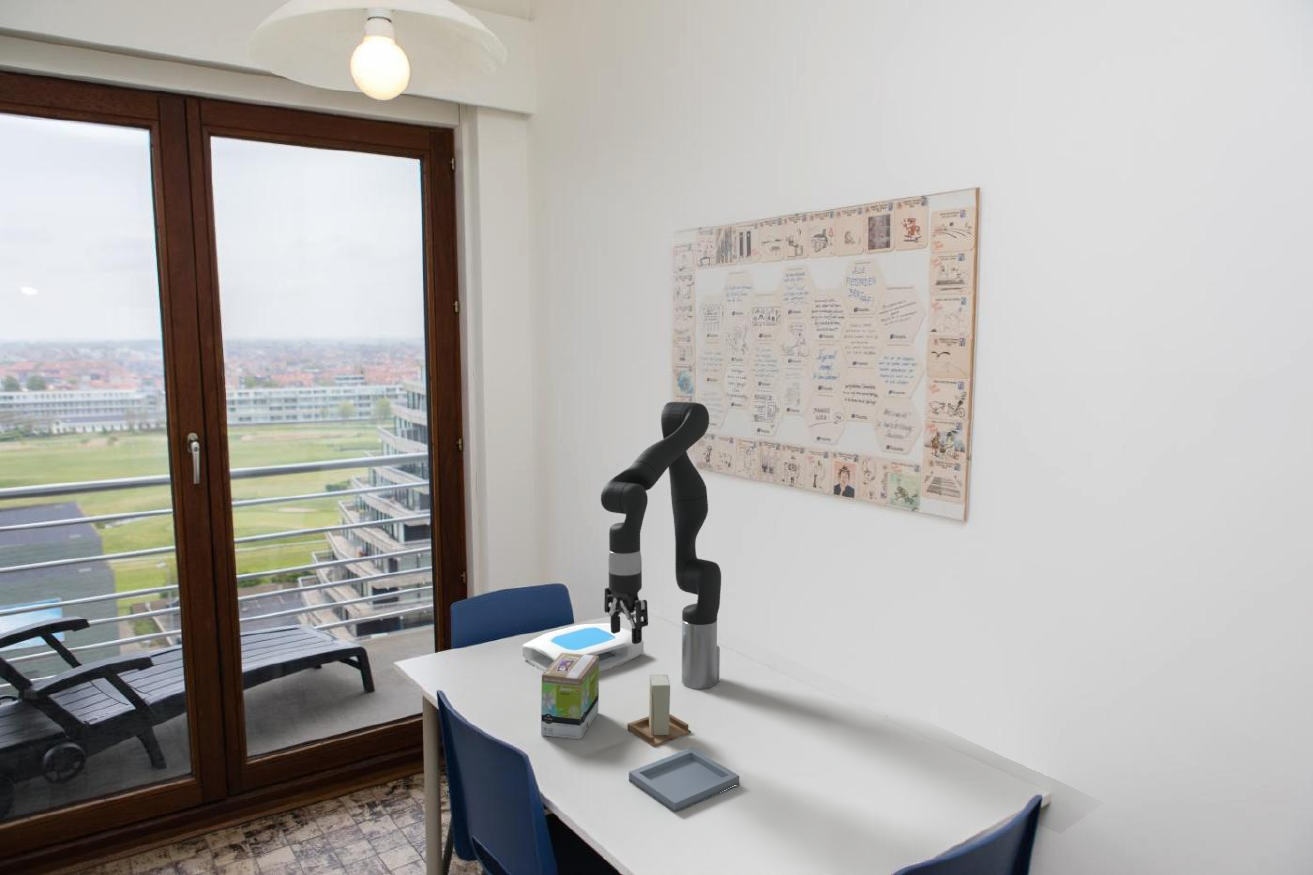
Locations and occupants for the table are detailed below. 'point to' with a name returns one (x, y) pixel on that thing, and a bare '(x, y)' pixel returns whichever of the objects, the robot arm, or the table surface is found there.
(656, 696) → the skincare box
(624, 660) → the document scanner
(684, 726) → the holder
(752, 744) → the table surface
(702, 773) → the tray
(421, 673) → the table surface
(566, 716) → the tea box
